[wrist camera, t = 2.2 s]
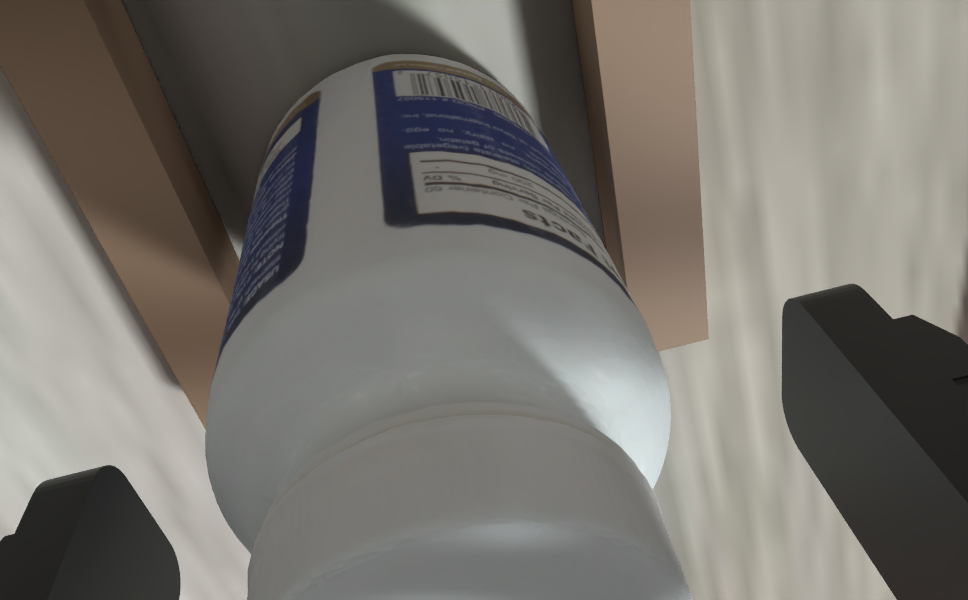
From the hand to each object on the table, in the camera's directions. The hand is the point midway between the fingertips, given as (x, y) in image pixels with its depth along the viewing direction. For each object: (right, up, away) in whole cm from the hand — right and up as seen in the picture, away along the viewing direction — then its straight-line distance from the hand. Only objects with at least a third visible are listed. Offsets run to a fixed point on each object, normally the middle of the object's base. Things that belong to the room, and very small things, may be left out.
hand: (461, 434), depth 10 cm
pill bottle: (-1, +4, +6) cm, 7 cm away
